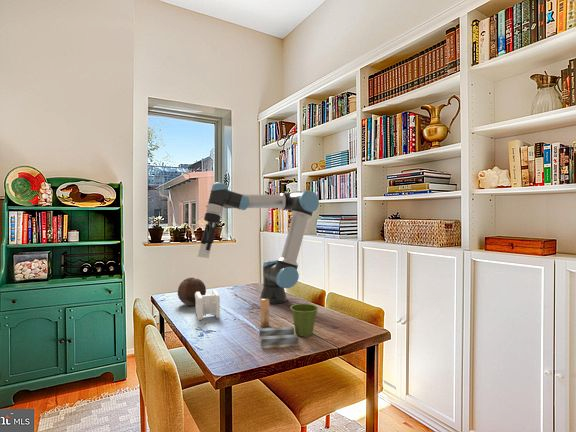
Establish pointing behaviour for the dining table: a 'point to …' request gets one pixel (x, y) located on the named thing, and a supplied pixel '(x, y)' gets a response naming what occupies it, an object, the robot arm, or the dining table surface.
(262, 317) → the copper pin
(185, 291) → the wooden sphere
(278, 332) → the notch board
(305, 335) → the plant pot
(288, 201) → the robot arm
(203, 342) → the dining table surface
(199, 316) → the cable organizer
